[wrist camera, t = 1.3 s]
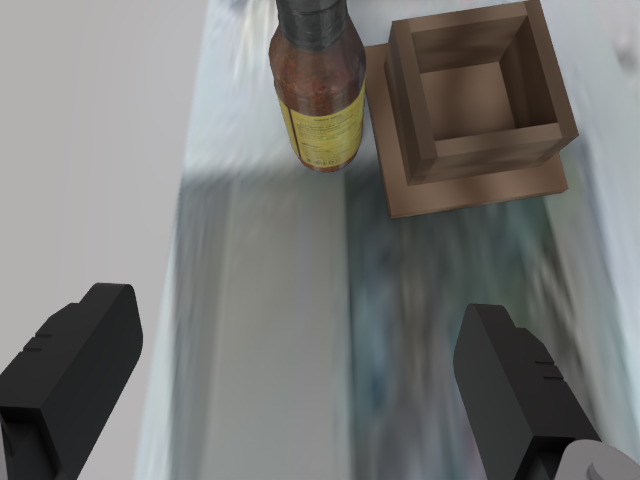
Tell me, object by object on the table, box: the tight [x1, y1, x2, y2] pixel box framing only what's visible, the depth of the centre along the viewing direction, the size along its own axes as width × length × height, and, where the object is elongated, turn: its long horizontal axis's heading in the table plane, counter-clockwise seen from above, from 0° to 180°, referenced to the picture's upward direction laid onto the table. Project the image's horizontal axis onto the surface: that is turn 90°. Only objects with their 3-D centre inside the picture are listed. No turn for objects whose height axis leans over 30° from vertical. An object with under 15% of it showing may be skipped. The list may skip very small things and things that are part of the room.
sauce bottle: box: [268, 0, 366, 172], centre depth 30 cm, size 7×6×20 cm
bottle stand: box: [364, 0, 579, 219], centre depth 36 cm, size 15×16×7 cm
